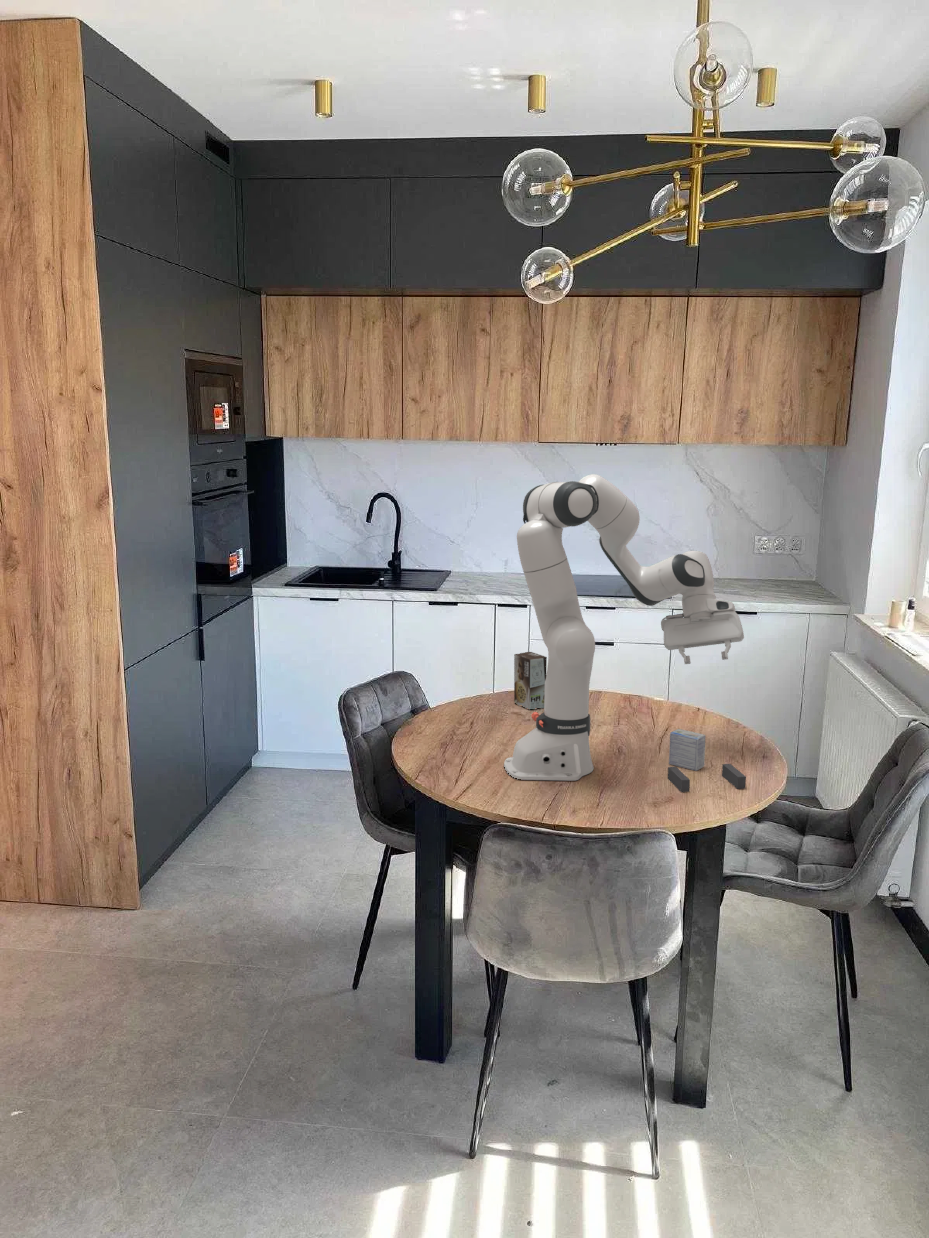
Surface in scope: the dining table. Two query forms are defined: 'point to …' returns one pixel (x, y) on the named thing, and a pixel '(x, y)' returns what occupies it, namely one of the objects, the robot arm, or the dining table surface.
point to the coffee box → (529, 679)
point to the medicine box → (687, 749)
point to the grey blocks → (727, 772)
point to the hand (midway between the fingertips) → (706, 661)
